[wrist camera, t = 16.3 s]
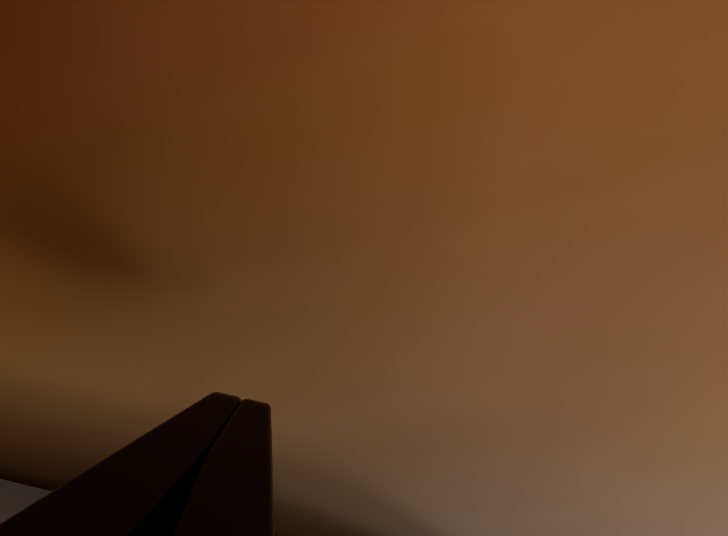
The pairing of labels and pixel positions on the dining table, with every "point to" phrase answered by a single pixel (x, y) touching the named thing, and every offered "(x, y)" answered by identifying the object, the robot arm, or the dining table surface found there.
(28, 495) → the pull-out tray
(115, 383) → the dining table surface
